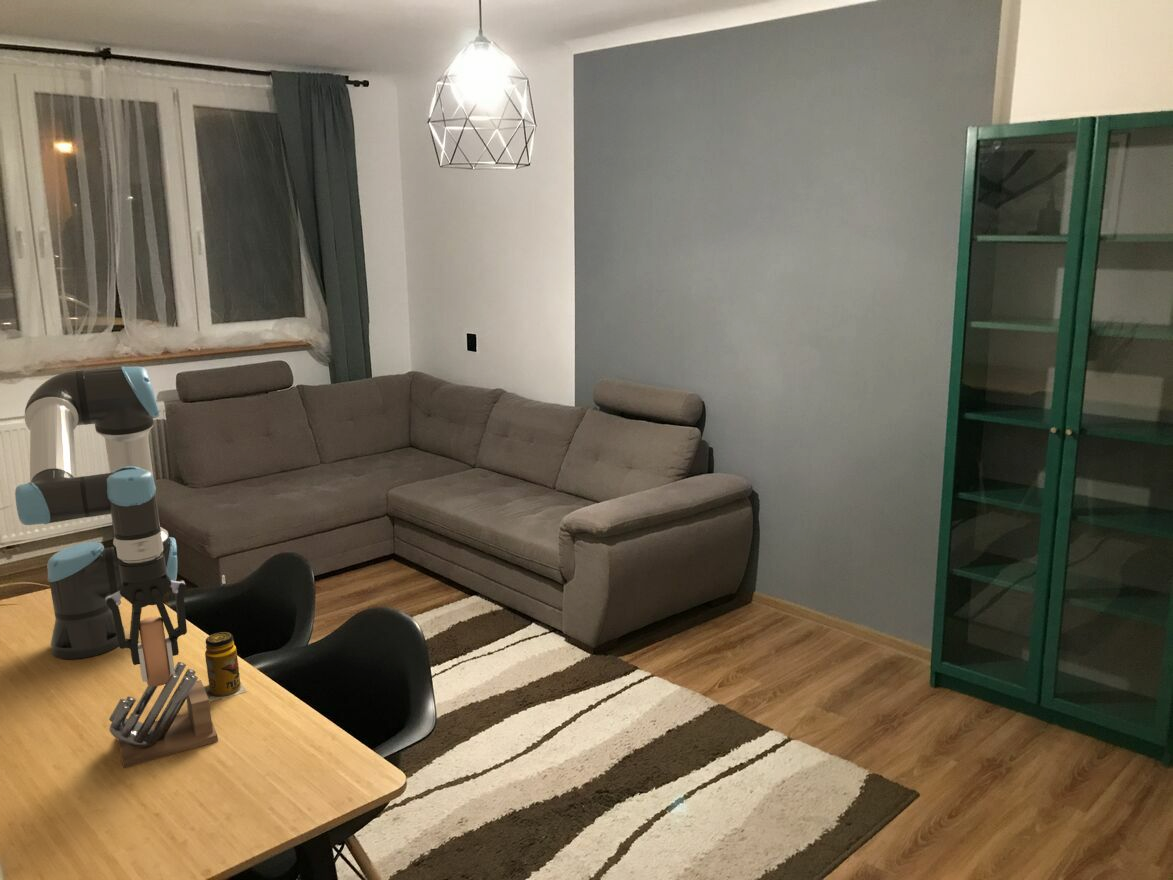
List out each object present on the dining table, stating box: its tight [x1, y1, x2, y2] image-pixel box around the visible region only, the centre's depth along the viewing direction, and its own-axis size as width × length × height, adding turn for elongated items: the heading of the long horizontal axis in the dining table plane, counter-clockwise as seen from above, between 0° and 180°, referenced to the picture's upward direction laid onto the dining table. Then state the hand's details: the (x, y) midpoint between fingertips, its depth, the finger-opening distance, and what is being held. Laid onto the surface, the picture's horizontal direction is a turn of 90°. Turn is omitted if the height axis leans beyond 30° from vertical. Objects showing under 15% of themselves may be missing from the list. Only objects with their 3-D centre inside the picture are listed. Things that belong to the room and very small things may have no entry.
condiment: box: [203, 631, 247, 703], centre depth 191 cm, size 7×8×12 cm
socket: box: [108, 661, 199, 749], centre depth 173 cm, size 10×16×15 cm, turn 121°
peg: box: [139, 616, 171, 687], centre depth 171 cm, size 4×4×12 cm
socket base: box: [117, 679, 219, 769], centre depth 174 cm, size 12×16×8 cm
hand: (158, 674), depth 172 cm, fingers closed on peg, 4 cm apart
